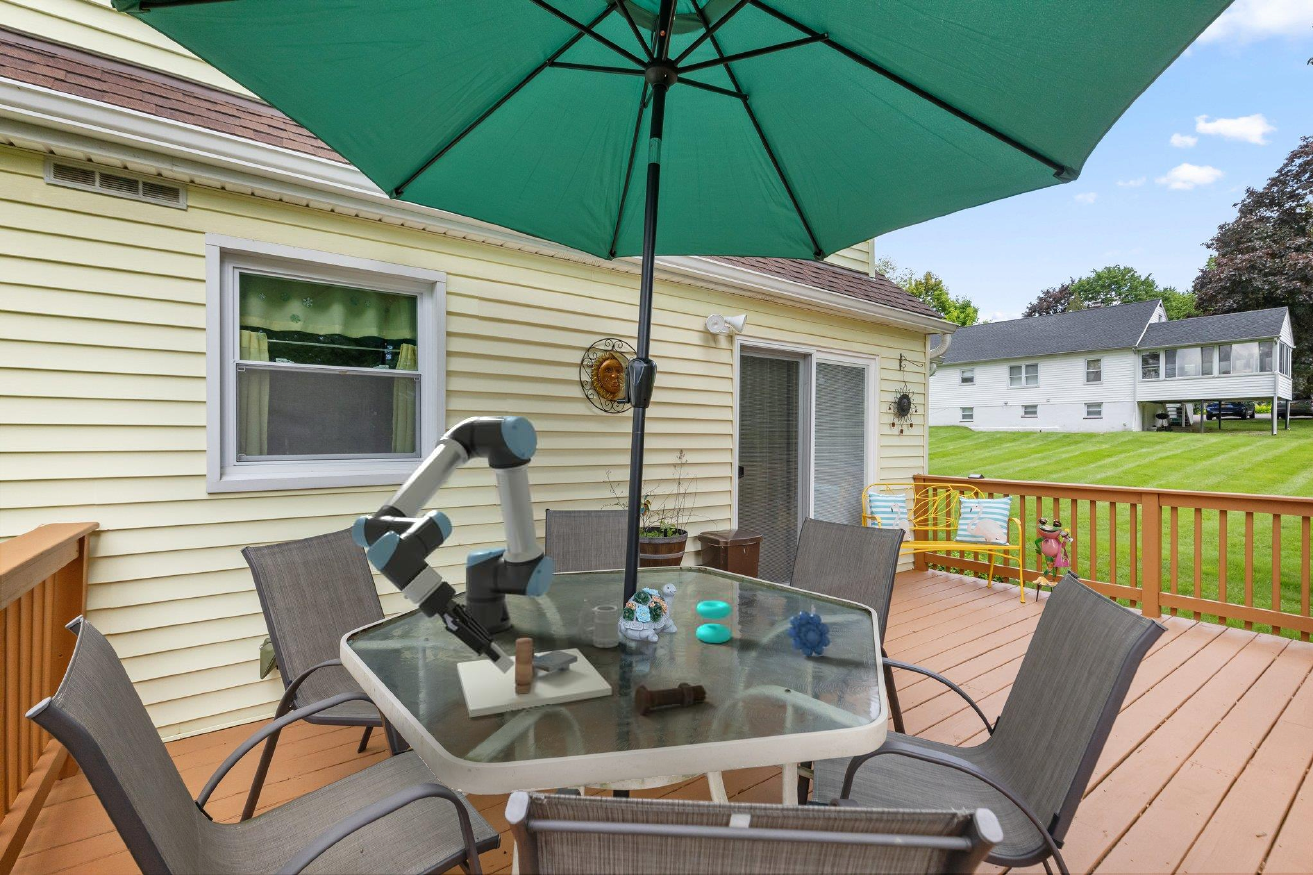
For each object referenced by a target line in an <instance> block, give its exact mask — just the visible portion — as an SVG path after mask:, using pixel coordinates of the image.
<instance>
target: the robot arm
mask: <svg viewBox="0 0 1313 875" xmlns="http://www.w3.org/2000/svg"><path fill="white" fill-rule="evenodd" d="M537 445H538V435H537V433H536V429H535V427H534V426H533V424H532V423H531V421H529V419H528V418H526V417H524V416H517V415H516V416H515V415H511V414H510V415H491V416H490V415H488V416H487V415H485V416H484V415H476V416H472V417H469V418H467V419H465V420H462V421H460V422H459V423H458V424H455V425H454V426H453V427H452V428H449V430H448V431H447V432H445V433H444V434H443V435H442V436H441V437H440V438H439V439H438V440H437V441H436V442H435V445H434V450H433V451H432V452H431V454H430V453H429V455H428V457H427V458H426V459H424V461H423V462H422V463H421V464H420V465H419V466H418V467H417V468H416V470H414V471H413V473H412V474H411V475H410V476H409V477H408V478H407V479H406V480H405V481H404V482H403V483H402V484H401V486H400V487H399V488H398V489H397V490H396V491H395V492H394V493H393V494H392V495H391V496H390V498H388V499H387V501H386V502H385V503H384V504H383V505H382V506H381V507H380V508H379V509H378V510H377V511H376V512H375V514H367V515H366V514H365V515H362V516H359V517H358V518H357V519H356V520H355V522H354V523H353V525H352V529H351V537H352V540H353V541H354V543H355V545H357V546H359V547H362V548H366V549H367V551H366V553H365V556H366V559H367V560H368V561H369V563H371V565H373V567H374V568H375V569H376V571H377V572H379V573H380V574H381V575H382V576H384V577H385V579H387V580H388V581H389V582H390V583H391V584H392V585H393V586H394V587H395V588H396V589H398V590H399V591H400V592H401V593H402V594H403V595H404V596H403V598H404V599H405V600H409V601H411V602H412V603H413V605H417V604H418V610H419V611H421V612H422V613H423V614H424V615H425V616H426V617H427V618H428V619H431V618H433V617H434V616H435V615H436V614H437V615H438V616H439V617H440V619H441V620H442V622H443V624H445V625H446V626H444V629H445V630H446V631H447V632H449V633H450V634H452V635H453V636H455V637H456V638H458V639H459V640H460V641H461V642H462V643H464V644H465V645H466V646H467V647H469V649H472V650H473V651H474V652H475V653H476V654H477V656H479V657H482V655H484V656H485V657H486V658H487V659H489V660H490V661H491V662H492V663H494V664H495V665H496V666H497V667H498V668H499V669H500V670H501V671H502V672H503V673H504V674H505V673H506V672H507V671H508V670H509V669H510V668H511V667H512V666H513V665H514V661H512V660H511V659H510V658H509V657H510V656H508V655H507V654H506V653H505V652H504V651H503V650H502V649H501V648H500V647H499V646H498V645H497V644H496V643H495V642H494V641H495V639H496V637H495V636H492V635H491V634H493V633H494V634H495V633H499V632H503V631H506V630H508V629H509V628H510V627H511V626H512V616H511V613H510V609H509V607H508V603H507V598H506V596H507V595H512V596H519V597H527V598H530V597H531V598H532V597H535V598H539V597H542V596H543V595H545V594H546V592H547V591H548V590H549V588H550V586H551V583H552V581H553V577H554V572H555V571H554V570H555V564H554V561H553V559H552V558H551V557H549V556H547V555H546V556H545V552H544V551H545V550H544V547H543V546H542V545H541V544H539V543H538V539H537V532H536V524H535V519H534V510H533V504H532V495H531V489H530V483H529V482H530V481H529V474H528V469H527V467H528V466H529V465H530V464H531V463H532V458H533V457H534V456H535V454H536V452H537V450H538V449H537ZM477 458H484V459H487V463H488V468H489V469H490V470H492V471H494V472H495V478H496V482H497V489H498V495H499V503H500V508H501V515H502V516H501V517H502V522H503V529H504V535H505V542H506V547H505V548H504V547H496V548H495V547H494V548H487V549H481V550H476V551H472V552H471V553H468V555H467V556H466V562H465V563H466V565H465V603H462V604H460V603H458V602H457V601H455V600H454V599H453V597H454V596H455V595H456V593H457V590H456V589H455V588H454V587H453V586H452V585H451V584H450V583H449V582H448V581H444V580H443V576H442V575H441V574H439V572H438V571H436V570H435V569H434V568H433V567H432V566H431V565H430V564H429V563H428V562H427V561H426V559H427V558H428V557H429V556H430V555H431V554H432V553H434V552H435V551H436V549H438V548H439V547H440V546H442V545H443V544H444V543H445V541H446V540H447V539H448V538H449V537H450V536H451V534H452V532H453V525H452V521H451V519H450V518H449V517H448V516H447V515H446V514H445V513H443V512H441V511H439V510H434V509H433V510H430V511H428V512H426V513H424V514H422V516H421V517H417V516H418V514H419V513H420V512H421V511H422V510H423V508H425V506H427V504H428V503H429V502H430V500H431V499H432V498H434V496H435V495H436V494H437V492H438V491H439V490H440V489H441V488H442V486H443V485H444V484H445V483H446V481H448V479H449V478H450V477H451V476H452V475H453V473H454V472H455V471H456V470H457V469H458V468H460V467H464V466H465V465H466V464H467V463H468V462H469V461H470V460H473V459H477Z"/></svg>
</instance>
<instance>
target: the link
mask: <svg viewBox="0 0 1313 875" xmlns="http://www.w3.org/2000/svg"><path fill="white" fill-rule="evenodd" d="M514 649H515V651H514V652H515V653H514V654H515V655H514V656H515V684H516V685H515V693H530V688H531V684H532V679H533V675H534V671H535V668H534V667H532V659H533V658H536V657H538V656H537V655H534V654H535V647H533V639H532V638H530V637H520V638H517V639H516V640H515V648H514Z"/></svg>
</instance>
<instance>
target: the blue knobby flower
mask: <svg viewBox="0 0 1313 875" xmlns="http://www.w3.org/2000/svg"><path fill="white" fill-rule="evenodd" d="M789 622H790V625H791V626H789V627H788V628H787V630H786V633H787V636H788V637H789V638H790V639H792V640H791V646H792V648H793V649H794V650H796V651H800V650H801V652H802V655H804V656H805V655H806V656H805V657H808V656H810V657H812V656H811V655H813V654H815V655H816V654H817V655H816V656H821V655H822V656H823V654H824V651H825V650H824V647H825V648H827V647H829V646H830V645H831V640H830V638H829V637H828V635H829V633H830V627H829V626H828V625H827V624H826V623H823V622H822V617H821V616H820V615H819V614H817V613H813V614H810V612H808V611H805V610H802V611H801V610H800V612H799V614H798V616H797V615H793V616H791V617H790V619H789Z"/></svg>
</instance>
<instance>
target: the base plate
mask: <svg viewBox="0 0 1313 875" xmlns="http://www.w3.org/2000/svg"><path fill="white" fill-rule="evenodd" d="M558 651H561V652H565V653H568V654H571V655H575V656H577V662H574V663H572V664H570V669H568V670H565V671H561V670H558V669H557V670H554V671H552V672H546V671H543V670H540V669H537V668H535V671H534V675H533V679H532V684H531V688H530V693H515V685H516V684H515V655H511V656H508V657H509V658H510V659H511V660H512V661H514V665H513V666H512V667H511V668H510V669H509V670H508V671H507V672H506V673H505V674H504V673H503V672H502V671H501V670H500V669H499V668H498V667H497V666H496V665H495V664H494V663H492V662H491V661H490V660H489V659H488V658H487V659H480V660H471V661H465V662H457V663H456V671H457V674H458V677H459V682H460V685H461V690H462V694H463V697H464V701H465V704H466V708H467V712H468V715H469V716H468V717H469V718H474V717H481V716H488V715H493V714H499V713H500V714H501V713H505V712H506V711H507V712H512V711H511V710H513V711H517V710H518V709H519V710H523V709H522V708H525V709H530V708H529V707H532V708H535V707H534V706H538V707H543V706H542V705H544V706H546V705H545V704H550V705H554V704H556V705H557V704H562V703H563V704H564V703H570V702H574V701H580V700H586V699H593V698H598V697H599V698H600V697H604V696H605V697H606V696H611V695H612V694H613V692H612V686H611V685H610V684H609V683H608V681H606V679H604V677H603V676H602V675H601V674H600V673H599V671H597V669H595V667H594V666H593V665H592V664H591V662H589V661H588V659H587V658H586V657H585V656H584V655H583V653H581V651H580V650H579V649H578V648H576V647H575V648H569V649H561V650H558ZM550 652H552V651H544V652H543V651H542V652H534V655H537V656H538V657H539V656H541V655H544V654H547V653H550ZM519 710H518V711H519Z"/></svg>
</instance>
